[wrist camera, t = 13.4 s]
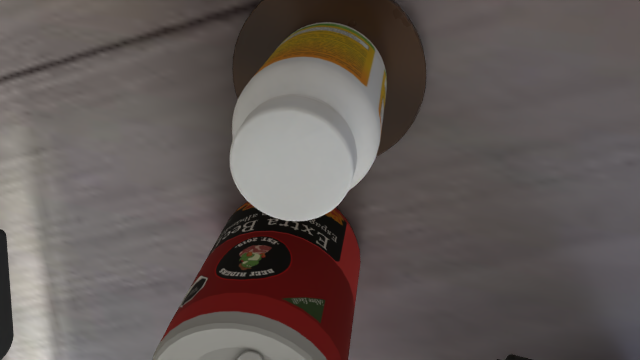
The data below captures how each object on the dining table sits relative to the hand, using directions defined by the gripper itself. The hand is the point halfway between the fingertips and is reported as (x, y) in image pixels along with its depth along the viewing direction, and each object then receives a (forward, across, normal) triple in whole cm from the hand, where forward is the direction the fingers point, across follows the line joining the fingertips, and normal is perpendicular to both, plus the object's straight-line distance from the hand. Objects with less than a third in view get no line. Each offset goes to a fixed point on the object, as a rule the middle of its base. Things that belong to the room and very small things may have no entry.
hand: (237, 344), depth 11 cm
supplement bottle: (+18, +1, 0) cm, 18 cm away
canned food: (+18, +1, +10) cm, 21 cm away
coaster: (+18, +1, 0) cm, 18 cm away
